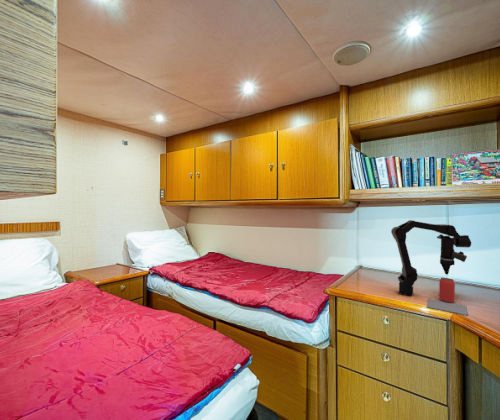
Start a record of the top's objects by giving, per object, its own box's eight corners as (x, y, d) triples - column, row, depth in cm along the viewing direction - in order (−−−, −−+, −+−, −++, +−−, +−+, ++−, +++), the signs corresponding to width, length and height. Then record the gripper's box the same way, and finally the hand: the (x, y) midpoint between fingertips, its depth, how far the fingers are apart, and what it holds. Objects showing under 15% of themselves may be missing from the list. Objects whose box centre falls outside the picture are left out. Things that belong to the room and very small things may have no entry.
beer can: (454, 301, 136) (455, 279, 137) (454, 304, 131) (454, 280, 132) (439, 298, 140) (439, 276, 141) (438, 301, 135) (439, 278, 136)
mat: (426, 307, 128) (426, 306, 128) (428, 299, 139) (428, 298, 139) (468, 316, 118) (468, 315, 118) (466, 306, 129) (466, 305, 129)
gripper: (467, 250, 131) (466, 280, 131) (464, 246, 146) (464, 273, 146) (440, 248, 138) (439, 276, 138) (440, 244, 152) (440, 270, 153)
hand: (446, 274), depth 143 cm, fingers closed
